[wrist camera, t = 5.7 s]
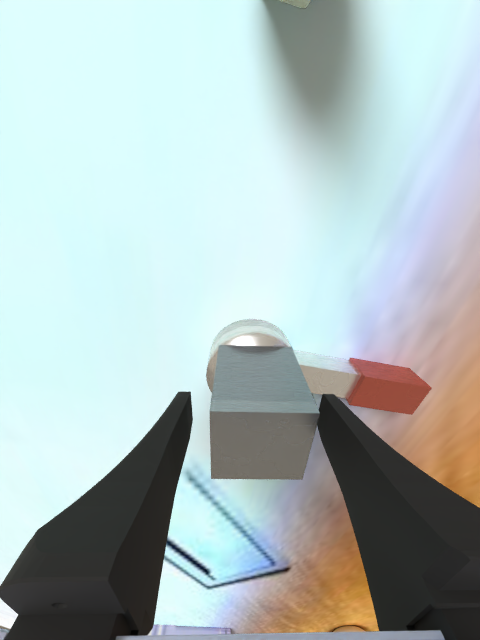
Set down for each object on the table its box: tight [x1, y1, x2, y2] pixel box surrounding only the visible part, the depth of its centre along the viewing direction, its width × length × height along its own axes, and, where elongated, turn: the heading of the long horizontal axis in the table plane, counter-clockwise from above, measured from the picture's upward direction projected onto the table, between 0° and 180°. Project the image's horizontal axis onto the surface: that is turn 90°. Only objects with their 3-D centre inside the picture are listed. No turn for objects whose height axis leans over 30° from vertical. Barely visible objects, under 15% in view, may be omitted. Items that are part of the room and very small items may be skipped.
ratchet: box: [206, 319, 431, 415], centre depth 15 cm, size 16×6×5 cm, turn 78°
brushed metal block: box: [210, 345, 320, 479], centre depth 12 cm, size 4×4×5 cm
